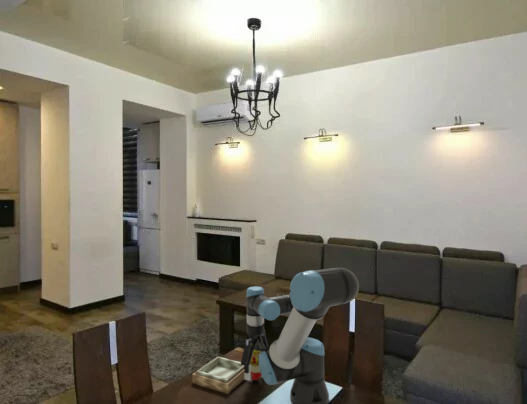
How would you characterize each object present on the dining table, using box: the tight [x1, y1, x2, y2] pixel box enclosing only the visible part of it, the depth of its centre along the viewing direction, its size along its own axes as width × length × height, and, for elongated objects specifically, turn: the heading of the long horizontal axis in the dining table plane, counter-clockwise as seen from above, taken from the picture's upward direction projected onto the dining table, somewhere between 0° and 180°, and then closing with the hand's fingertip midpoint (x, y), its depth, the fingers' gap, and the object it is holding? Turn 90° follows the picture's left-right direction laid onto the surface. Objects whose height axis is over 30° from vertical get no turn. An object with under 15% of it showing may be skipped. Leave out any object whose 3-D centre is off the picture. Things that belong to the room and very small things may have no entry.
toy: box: [250, 347, 263, 383], centre depth 155 cm, size 7×7×15 cm
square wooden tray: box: [192, 356, 246, 395], centre depth 157 cm, size 18×18×5 cm
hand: (255, 372), depth 155 cm, fingers open, 12 cm apart
